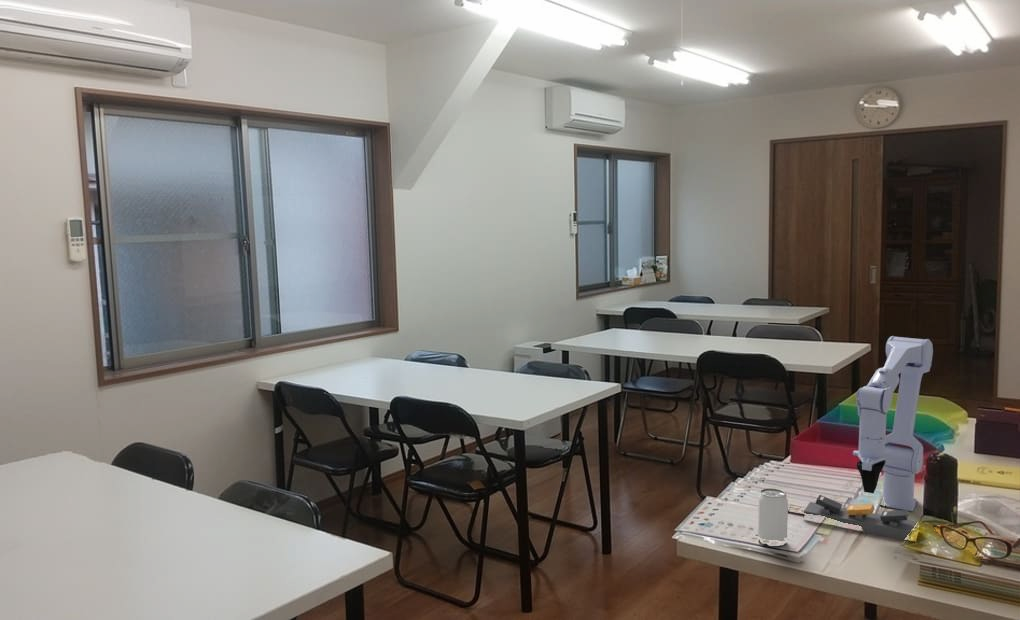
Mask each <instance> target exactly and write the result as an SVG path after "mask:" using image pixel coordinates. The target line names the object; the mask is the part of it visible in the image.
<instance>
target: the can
mask: <svg viewBox="0 0 1020 620" xmlns="http://www.w3.org/2000/svg"><path fill="white" fill-rule="evenodd" d="M757 508H758V509H757V511H758V513H757V514H758V515H757V516H758V517H757V521H758V522H757V537H758V536H759V537H760V538H762V539H766V540H782V539H784V538H786V537H787V538H788V515H789V512H788V508H789V500H788V498H787V493H786V492H785V491H784V490H782V489H777V488H763V489H761V490H760V494H759V496H758V507H757Z"/></svg>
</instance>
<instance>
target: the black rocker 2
mask: <svg viewBox="0 0 1020 620" xmlns="http://www.w3.org/2000/svg"><path fill="white" fill-rule="evenodd" d="M880 515H881V516H880V518H881V521H893V522H897V521H904V520H909V511H908V510H888V511H887V510H885V511H883V510H882V511H881V513H880Z"/></svg>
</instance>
